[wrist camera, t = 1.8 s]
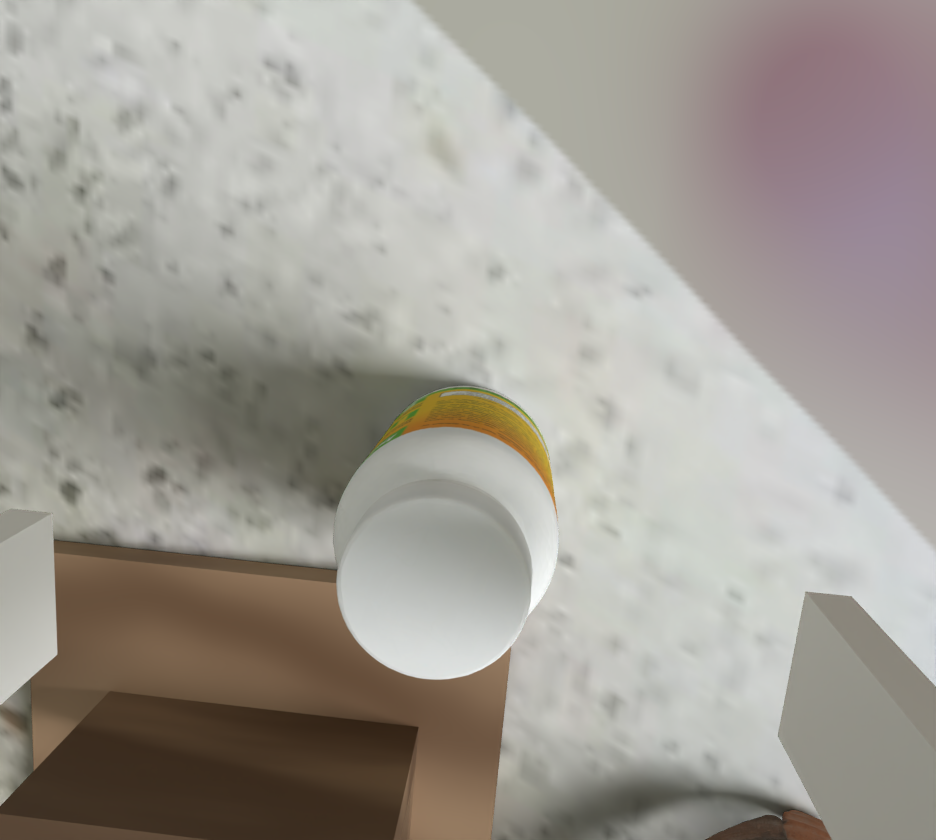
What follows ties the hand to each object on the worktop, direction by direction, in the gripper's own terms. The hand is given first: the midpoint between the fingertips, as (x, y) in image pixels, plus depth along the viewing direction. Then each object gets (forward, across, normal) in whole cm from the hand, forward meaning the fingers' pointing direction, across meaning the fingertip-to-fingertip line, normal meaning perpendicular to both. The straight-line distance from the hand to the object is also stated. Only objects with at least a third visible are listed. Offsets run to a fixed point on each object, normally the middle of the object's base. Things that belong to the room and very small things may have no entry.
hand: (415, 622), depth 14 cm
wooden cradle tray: (+12, +6, +14) cm, 19 cm away
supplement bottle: (+12, 0, 0) cm, 12 cm away
